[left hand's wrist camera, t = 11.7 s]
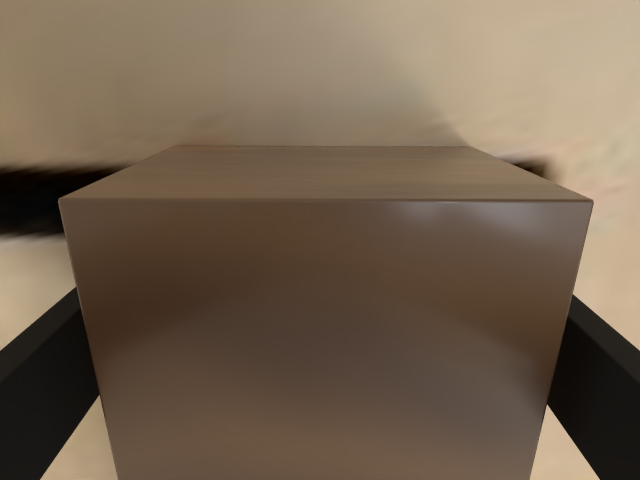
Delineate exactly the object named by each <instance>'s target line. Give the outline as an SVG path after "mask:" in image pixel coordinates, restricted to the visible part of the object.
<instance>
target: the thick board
mask: <svg viewBox="0 0 640 480" xmlns="http://www.w3.org/2000/svg"><path fill="white" fill-rule="evenodd" d="M58 204H59V208H60V213H61V218H62V222H63V227H64V232H65V236H66V241H67V245H68V250H69V255H70V259H71V264H72V269H73V273H74V278H75V282H76V287H77V292H78V296H79V301H80V306H81V310H82V315H83V319H84V324H85V329H86V333H87V338H88V342H89V347H90V352H91V356H92V361H93V366H94V370H95V375H96V379H97V384H98V389H99V393H100V398H101V403H102V407H103V412H104V416H105V421H106V426H107V430H108V435H109V440H110V444H111V449H112V453H113V458H114V463H115V467H116V472H117V477H118V480H529V479H530V475H531V470H532V466H533V462H534V458H535V453H536V449H537V445H538V440H539V436H540V432H541V427H542V423H543V419H544V415H545V410H546V406H547V402H548V397H549V393H550V389H551V384H552V380H553V376H554V372H555V367H556V363H557V359H558V354H559V350H560V346H561V341H562V337H563V333H564V329H565V324H566V320H567V316H568V311H569V307H570V303H571V298H572V294H573V290H574V286H575V281H576V277H577V273H578V268H579V264H580V260H581V255H582V251H583V247H584V242H585V238H586V234H587V230H588V225H589V221H590V217H591V212H592V208H593V204H594V203H593V200H592V199H589V198H587V197H585V196H582V195H580V194H578V193H576V192H573V191H571V190H569V189H567V188H564V187H562V186H560V185H557V184H555V183H553V182H551V181H548V180H546V179H544V178H541V177H539V176H537V175H535V174H532V173H530V172H528V171H525V170H523V169H521V168H519V167H516V166H514V165H512V164H510V163H507V162H505V161H503V160H500V159H498V158H496V157H494V156H491V155H489V154H487V153H484V152H482V151H480V150H478V149H475V148H473V147H351V146H174V147H171V148H169V149H167V150H165V151H163V152H160V153H158V154H156V155H154V156H152V157H149V158H147V159H145V160H143V161H141V162H138V163H136V164H134V165H132V166H130V167H127V168H125V169H123V170H121V171H119V172H116V173H114V174H112V175H110V176H108V177H105V178H103V179H101V180H99V181H97V182H94V183H92V184H90V185H88V186H86V187H83V188H81V189H79V190H77V191H75V192H72V193H70V194H68V195H66V196H64V197H61V198H59V199H58Z"/></svg>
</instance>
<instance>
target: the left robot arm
mask: <svg viewBox="0 0 640 480" xmlns="http://www.w3.org/2000/svg"><path fill="white" fill-rule="evenodd" d="M99 395H100V393H99V389H98V384H97V379H96V375H95V370H94V366H93V361H92V356H91V352H90V347H89V342H88V338H87V333H86V329H85V324H84V319H83V315H82V310H81V306H80V301H79V296H78V292H77V287H75V288H74V289H73V290H72V291H70V292H69V293H68V294H67V295H66V296H64V297H63V298H62V299H61V300H60V301H59V302H57V303H56V304H55V305H54V306H53V307H51V308H50V309H49V310H48V311H47V312H46V313H44V314H43V315H42V316H41V317H40V318H38V319H37V320H36V321H35V322H34V323H33V324H31V325H30V326H29V327H28V328H27V329H25V330H24V331H23V332H22V333H21V334H20V335H18V336H17V337H16V338H15V339H14V340H13V341H11V342H10V343H9V344H8V345H7V346H5V347H4V348H3V349H2V350H1V351H0V480H40V479H41V477H42V476H43V474H44V473H45V472H46V470H47V469H48V467H49V466H50V464H51V463H52V462H53V460H54V459H55V457H56V456H57V454H58V453H59V452H60V450H61V449H62V447H63V446H64V445H65V443H66V442H67V440H68V439H69V437H70V436H71V435H72V433H73V432H74V430H75V429H76V427H77V426H78V425H79V423H80V422H81V420H82V419H83V417H84V416H85V415H86V413H87V412H88V410H89V409H90V407H91V406H92V405H93V403H94V402H95V400H96V399H97V397H98V396H99ZM547 405H548V406H549V407H550V409H551V410H552V412H553V413H554V415H555V416H556V417H557V419H558V420H559V422H560V423H561V425H562V426H563V427H564V429H565V430H566V432H567V433H568V435H569V436H570V437H571V439H572V440H573V442H574V443H575V445H576V446H577V447H578V449H579V450H580V452H581V453H582V454H583V456H584V457H585V459H586V460H587V462H588V463H589V464H590V466H591V467H592V469H593V470H594V472H595V473H596V474H597V476H598V477H599V479H600V480H640V351H639V350H638V349H637V348H636V347H635V346H633V345H632V344H631V343H630V342H629V341H627V340H626V339H625V338H624V337H623V336H622V335H620V334H619V333H618V332H617V331H616V330H614V329H613V328H612V327H611V326H610V325H609V324H607V323H606V322H605V321H604V320H603V319H602V318H600V317H599V316H598V315H597V314H596V313H594V312H593V311H592V310H591V309H590V308H589V307H587V306H586V305H585V304H584V303H583V302H581V301H580V300H579V299H578V298H577V297H576V296H574V295H573V294H572V298H571V303H570V307H569V311H568V316H567V320H566V324H565V329H564V333H563V337H562V341H561V346H560V350H559V354H558V359H557V363H556V367H555V372H554V376H553V380H552V384H551V389H550V393H549V397H548V402H547Z"/></svg>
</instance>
